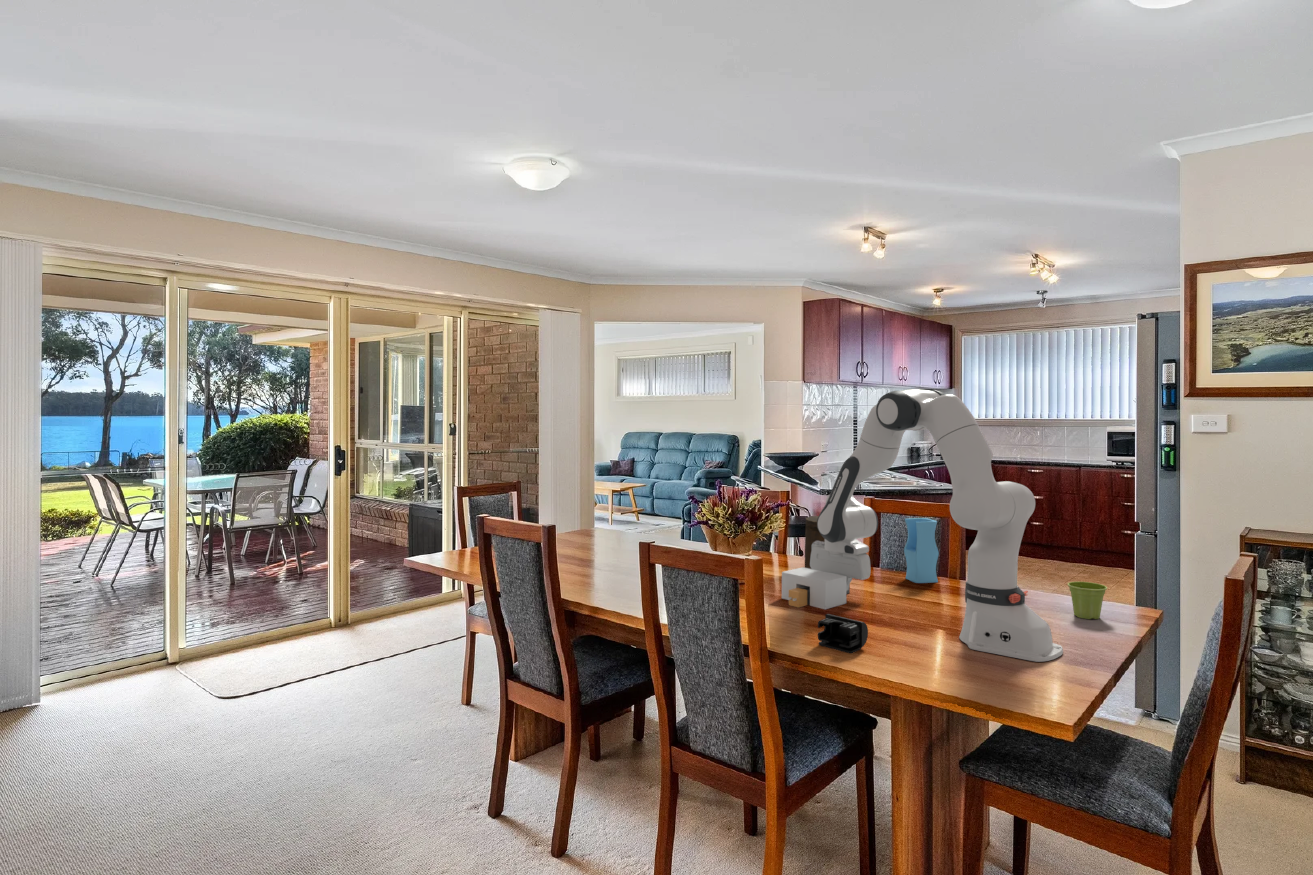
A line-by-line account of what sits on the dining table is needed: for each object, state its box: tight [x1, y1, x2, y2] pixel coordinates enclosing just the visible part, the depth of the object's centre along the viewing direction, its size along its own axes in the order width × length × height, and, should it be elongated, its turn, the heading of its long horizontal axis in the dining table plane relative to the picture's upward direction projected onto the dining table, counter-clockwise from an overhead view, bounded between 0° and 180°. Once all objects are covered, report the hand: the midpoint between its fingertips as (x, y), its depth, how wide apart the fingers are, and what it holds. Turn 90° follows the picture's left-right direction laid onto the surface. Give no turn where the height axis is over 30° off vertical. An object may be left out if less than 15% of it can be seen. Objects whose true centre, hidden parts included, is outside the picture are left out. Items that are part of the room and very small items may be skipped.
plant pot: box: [1067, 581, 1108, 620], centre depth 200 cm, size 9×9×9 cm
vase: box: [903, 517, 940, 584], centre depth 243 cm, size 8×8×20 cm
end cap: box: [817, 613, 869, 654], centre depth 176 cm, size 10×7×7 cm
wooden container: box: [804, 515, 825, 569], centre depth 258 cm, size 15×15×22 cm
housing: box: [781, 566, 847, 610], centre depth 217 cm, size 16×10×8 cm, turn 40°
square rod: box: [787, 583, 851, 608], centre depth 219 cm, size 4×26×4 cm, turn 130°
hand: (839, 588), depth 225 cm, fingers closed on square rod, 3 cm apart
